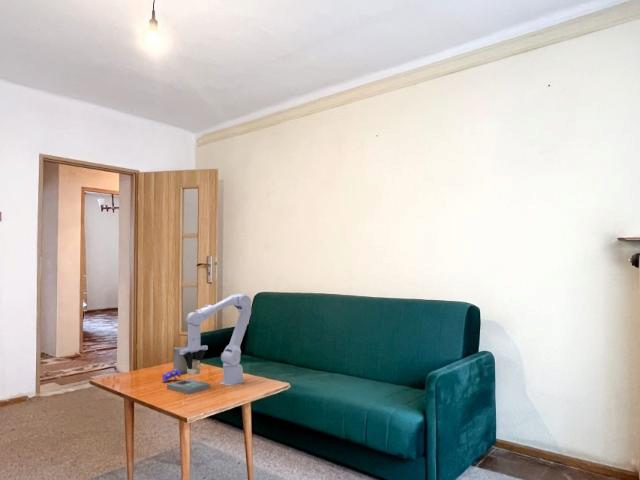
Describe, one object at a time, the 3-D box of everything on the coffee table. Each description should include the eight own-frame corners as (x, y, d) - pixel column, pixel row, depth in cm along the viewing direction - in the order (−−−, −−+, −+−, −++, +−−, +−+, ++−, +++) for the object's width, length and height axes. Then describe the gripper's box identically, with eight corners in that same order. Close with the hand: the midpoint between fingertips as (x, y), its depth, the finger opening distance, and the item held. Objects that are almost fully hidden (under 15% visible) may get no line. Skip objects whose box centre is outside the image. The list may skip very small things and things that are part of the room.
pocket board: (188, 383, 209) (188, 378, 209) (209, 389, 200) (209, 383, 200) (166, 389, 199) (167, 383, 200) (188, 395, 190) (188, 389, 190)
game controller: (162, 378, 206) (158, 370, 214) (166, 393, 208) (162, 384, 216) (182, 370, 210) (177, 362, 219) (186, 384, 212) (181, 376, 221)
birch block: (194, 372, 201) (194, 359, 201) (199, 373, 199) (199, 360, 199) (187, 374, 198) (187, 360, 198) (192, 375, 195) (192, 362, 196)
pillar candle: (193, 370, 238) (193, 343, 239) (189, 374, 228) (189, 346, 229) (175, 370, 237) (176, 343, 238) (170, 375, 227) (171, 346, 228)
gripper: (201, 335, 207) (200, 363, 207) (175, 339, 196) (175, 369, 195) (210, 336, 203) (210, 365, 202) (185, 341, 192) (184, 371, 191)
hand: (193, 367), depth 198 cm, fingers closed on birch block, 4 cm apart
